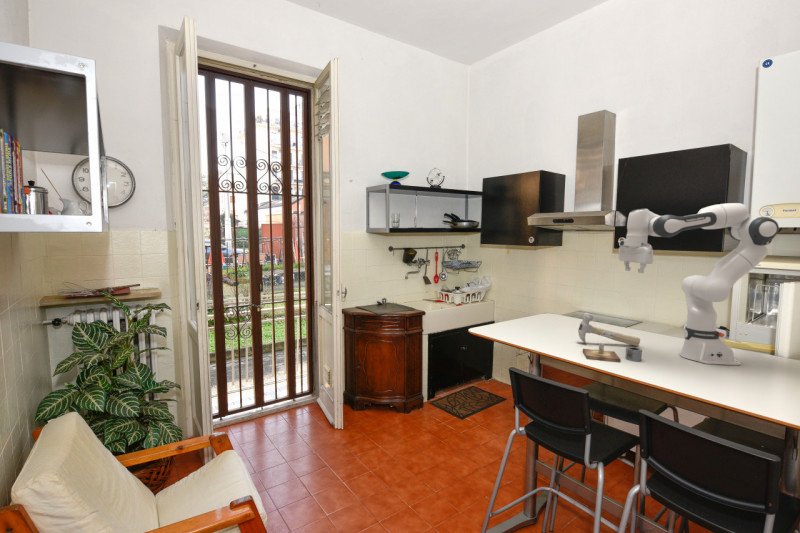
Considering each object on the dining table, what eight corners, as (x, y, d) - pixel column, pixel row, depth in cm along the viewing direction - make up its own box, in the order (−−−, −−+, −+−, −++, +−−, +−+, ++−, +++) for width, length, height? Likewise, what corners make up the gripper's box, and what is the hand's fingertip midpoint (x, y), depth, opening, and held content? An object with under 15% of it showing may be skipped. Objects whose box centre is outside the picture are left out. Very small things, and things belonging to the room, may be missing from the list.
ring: (638, 358, 191) (639, 347, 191) (642, 361, 185) (643, 351, 185) (624, 356, 193) (625, 346, 192) (627, 360, 187) (628, 349, 186)
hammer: (640, 327, 213) (583, 311, 215) (644, 329, 208) (586, 313, 210) (630, 355, 214) (574, 339, 216) (635, 358, 210) (577, 342, 212)
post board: (614, 354, 196) (615, 341, 195) (620, 362, 184) (621, 348, 184) (582, 351, 199) (583, 338, 199) (586, 358, 188) (587, 345, 187)
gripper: (658, 243, 183) (655, 274, 185) (628, 242, 204) (626, 269, 205) (645, 243, 183) (642, 274, 184) (616, 242, 203) (614, 269, 204)
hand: (634, 271), depth 195 cm, fingers open, 8 cm apart
